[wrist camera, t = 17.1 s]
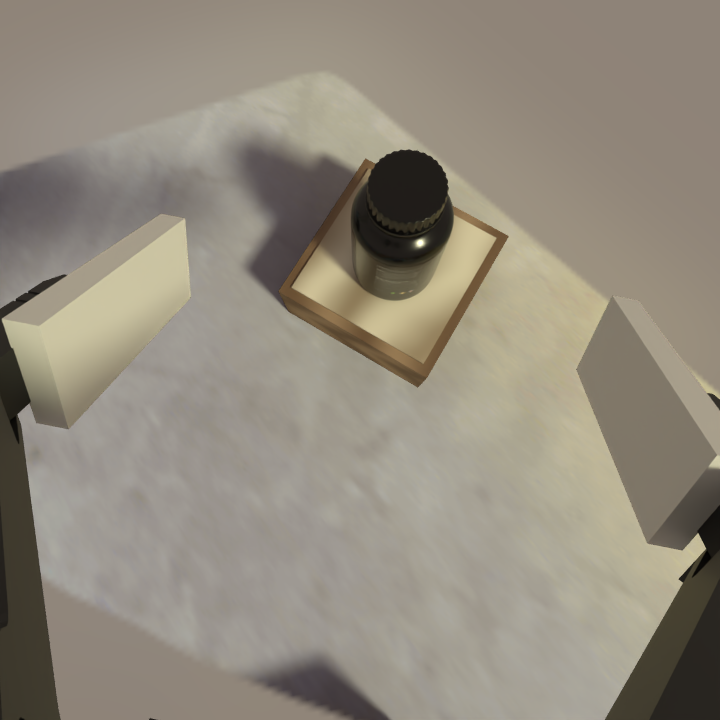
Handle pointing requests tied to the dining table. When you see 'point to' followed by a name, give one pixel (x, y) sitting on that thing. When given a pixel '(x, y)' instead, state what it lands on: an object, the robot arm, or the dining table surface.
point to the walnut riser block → (384, 317)
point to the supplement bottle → (400, 225)
